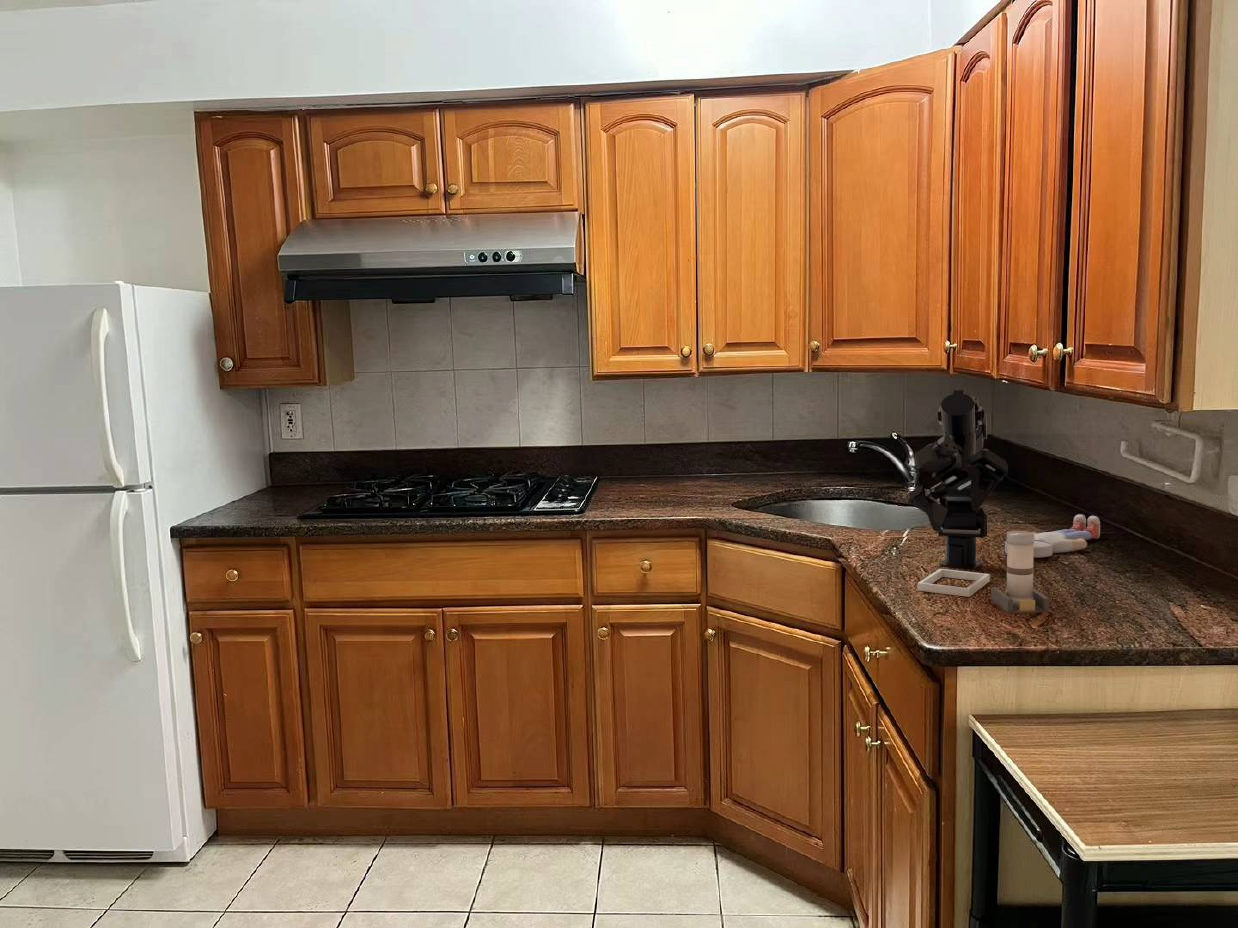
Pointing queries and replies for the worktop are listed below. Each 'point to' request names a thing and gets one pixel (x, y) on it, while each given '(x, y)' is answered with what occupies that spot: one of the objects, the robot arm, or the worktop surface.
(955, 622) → the worktop surface
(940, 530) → the robot arm
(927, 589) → the parts tray
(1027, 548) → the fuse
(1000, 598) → the fuse holder
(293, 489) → the worktop surface
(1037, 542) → the toy
